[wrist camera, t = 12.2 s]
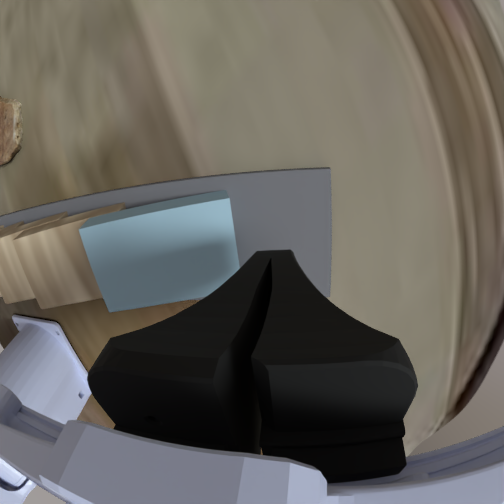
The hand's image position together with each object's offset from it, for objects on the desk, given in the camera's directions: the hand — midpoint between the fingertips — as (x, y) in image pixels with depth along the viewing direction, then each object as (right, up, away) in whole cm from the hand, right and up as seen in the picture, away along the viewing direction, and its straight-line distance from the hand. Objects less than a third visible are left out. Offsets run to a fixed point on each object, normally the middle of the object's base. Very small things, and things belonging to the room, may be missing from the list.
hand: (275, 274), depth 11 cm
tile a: (-7, +1, +4) cm, 8 cm away
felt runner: (-10, +1, +6) cm, 11 cm away
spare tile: (-2, +1, +3) cm, 4 cm away
